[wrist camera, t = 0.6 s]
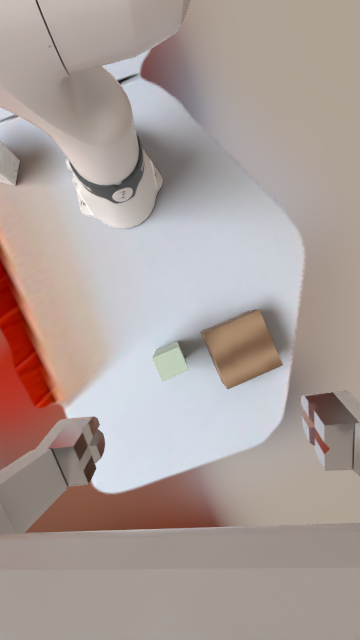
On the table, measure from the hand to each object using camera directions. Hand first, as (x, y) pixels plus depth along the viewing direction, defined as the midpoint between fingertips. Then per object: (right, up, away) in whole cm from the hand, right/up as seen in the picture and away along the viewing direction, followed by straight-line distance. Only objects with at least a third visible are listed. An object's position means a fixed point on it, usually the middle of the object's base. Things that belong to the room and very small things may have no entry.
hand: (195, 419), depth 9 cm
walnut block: (+12, -2, +44) cm, 45 cm away
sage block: (-3, -4, +43) cm, 43 cm away
